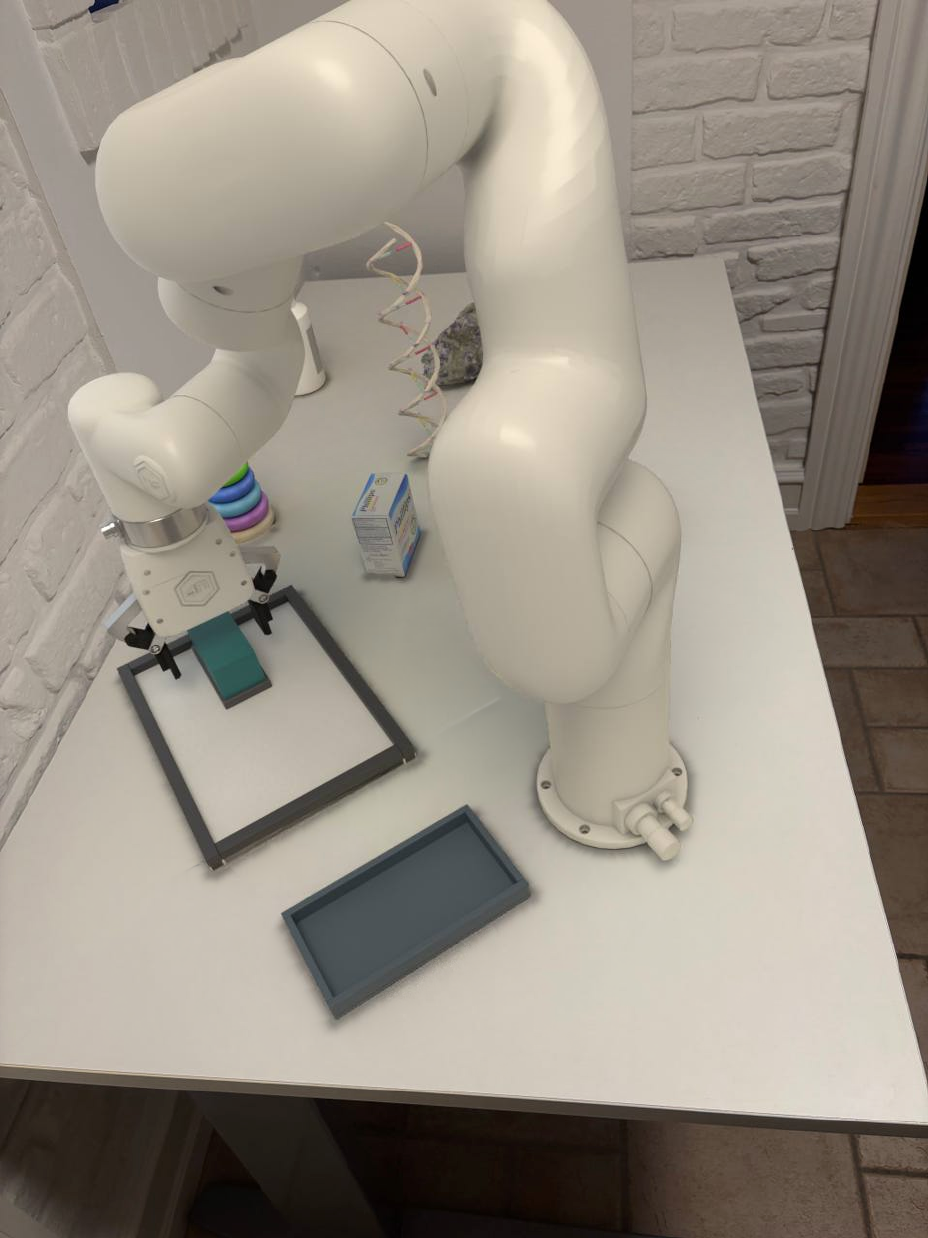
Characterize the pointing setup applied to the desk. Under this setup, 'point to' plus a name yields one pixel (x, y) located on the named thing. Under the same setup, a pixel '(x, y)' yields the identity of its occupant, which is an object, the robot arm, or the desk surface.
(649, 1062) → the desk surface
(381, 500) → the medicine box
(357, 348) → the desk surface
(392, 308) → the dna model
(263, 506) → the stacking toy
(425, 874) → the tray
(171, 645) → the whiteboard
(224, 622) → the eraser
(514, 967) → the desk surface
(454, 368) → the mineral rock
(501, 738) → the desk surface
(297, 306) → the spray bottle
